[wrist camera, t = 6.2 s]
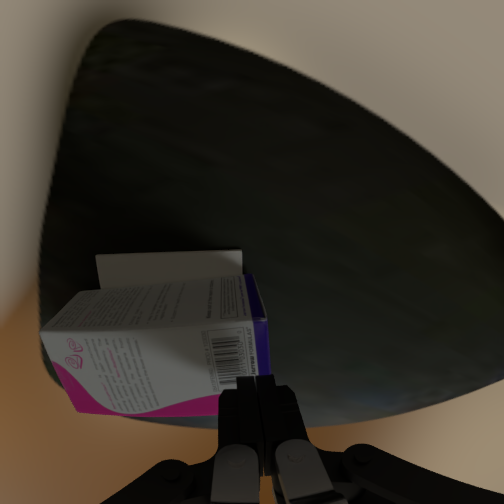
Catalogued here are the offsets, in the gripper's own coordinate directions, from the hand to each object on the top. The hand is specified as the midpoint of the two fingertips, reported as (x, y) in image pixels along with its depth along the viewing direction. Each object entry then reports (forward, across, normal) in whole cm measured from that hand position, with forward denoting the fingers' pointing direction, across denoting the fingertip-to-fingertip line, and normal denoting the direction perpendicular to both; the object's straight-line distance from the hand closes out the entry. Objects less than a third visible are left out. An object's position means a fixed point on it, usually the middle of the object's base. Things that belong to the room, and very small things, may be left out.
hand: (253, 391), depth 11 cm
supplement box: (+4, -1, 0) cm, 5 cm away
